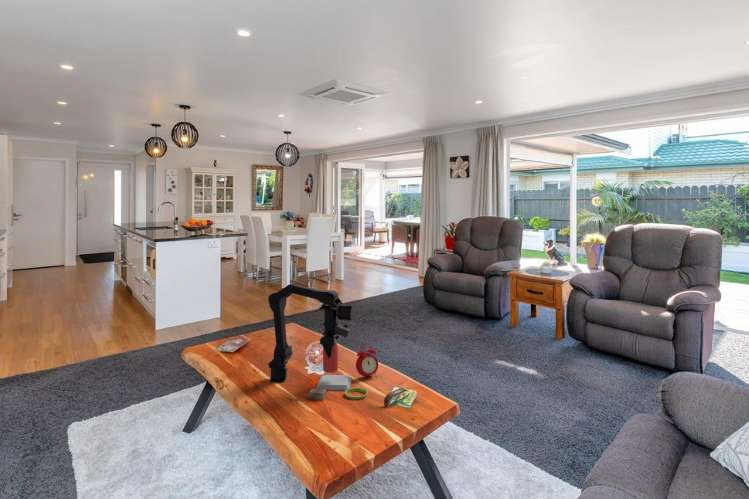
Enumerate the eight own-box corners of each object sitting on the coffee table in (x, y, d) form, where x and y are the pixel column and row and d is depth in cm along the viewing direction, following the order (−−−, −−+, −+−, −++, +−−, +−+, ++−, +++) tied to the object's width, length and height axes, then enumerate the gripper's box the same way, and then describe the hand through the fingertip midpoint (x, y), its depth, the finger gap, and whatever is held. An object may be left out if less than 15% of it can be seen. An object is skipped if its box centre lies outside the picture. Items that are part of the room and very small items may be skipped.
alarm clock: (360, 381, 187) (360, 348, 186) (354, 376, 193) (354, 344, 192) (380, 377, 192) (380, 345, 191) (374, 373, 197) (374, 342, 197)
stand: (316, 389, 176) (316, 385, 176) (321, 378, 190) (321, 374, 190) (348, 390, 175) (349, 386, 175) (351, 379, 189) (351, 374, 189)
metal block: (308, 399, 166) (308, 392, 166) (312, 395, 170) (312, 388, 170) (323, 400, 165) (323, 393, 165) (326, 396, 169) (326, 389, 169)
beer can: (325, 374, 177) (325, 346, 176) (320, 369, 182) (320, 342, 182) (340, 371, 179) (340, 344, 179) (335, 367, 185) (334, 340, 185)
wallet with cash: (404, 404, 177) (404, 384, 177) (410, 406, 175) (410, 386, 174) (381, 415, 166) (381, 394, 165) (387, 417, 164) (387, 396, 163)
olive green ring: (371, 410, 173) (371, 390, 172) (360, 419, 165) (360, 398, 164) (352, 406, 177) (352, 386, 177) (340, 414, 169) (340, 393, 169)
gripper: (346, 324, 170) (346, 362, 171) (351, 315, 189) (351, 349, 190) (319, 324, 171) (319, 361, 172) (326, 315, 190) (327, 349, 190)
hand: (330, 355), depth 181 cm, fingers closed on beer can, 7 cm apart
